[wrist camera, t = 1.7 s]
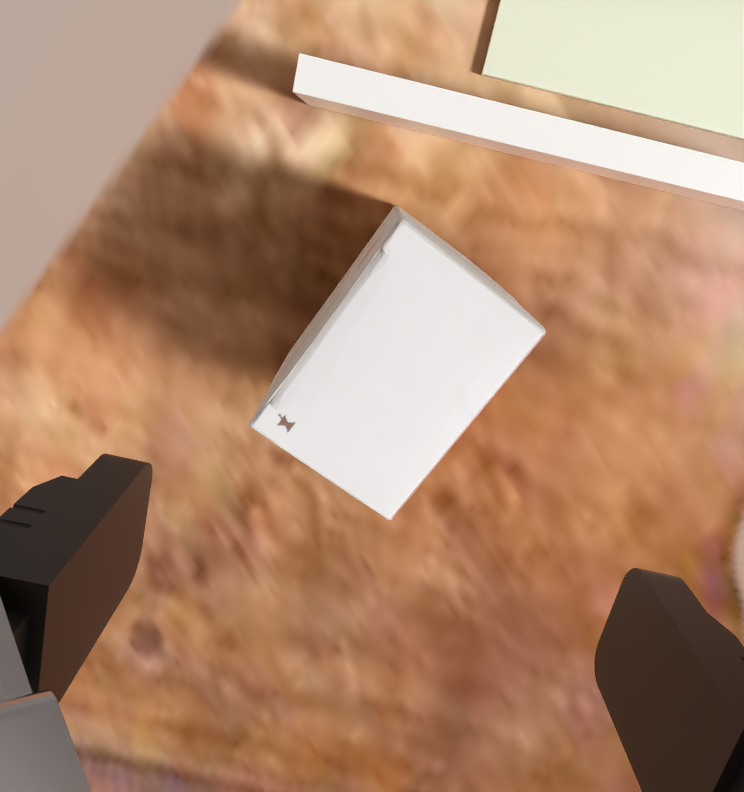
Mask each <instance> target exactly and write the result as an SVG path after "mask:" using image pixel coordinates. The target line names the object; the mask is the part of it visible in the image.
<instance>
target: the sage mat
mask: <svg viewBox="0 0 744 792" xmlns="http://www.w3.org/2000/svg"><path fill="white" fill-rule="evenodd" d="M481 75H483V76H487V77H491V78H495V79H499V80H503V81H507V82H511V83H515V84H519V85H523V86H527V87H531V88H535V89H539V90H543V91H547V92H551V93H555V94H559V95H563V96H567V97H571V98H575V99H580V100H584V101H588V102H592V103H596V104H600V105H604V106H608V107H612V108H616V109H620V110H624V111H628V112H632V113H636V114H640V115H644V116H648V117H652V118H656V119H660V120H664V121H668V122H672V123H676V124H680V125H684V126H688V127H692V128H696V129H700V130H704V131H708V132H713V133H717V134H721V135H725V136H729V137H733V138H737V139H741V140H744V0H500V2H499V6H498V10H497V14H496V18H495V22H494V26H493V30H492V34H491V38H490V42H489V46H488V50H487V54H486V58H485V62H484V66H483V70H482V74H481Z"/></svg>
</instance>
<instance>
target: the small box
mask: <svg viewBox="0 0 744 792" xmlns="http://www.w3.org/2000/svg"><path fill="white" fill-rule="evenodd" d="M545 335H546V332H545V329H544V327H543V326H542V325H541V324H539V323H538V322H537V321H536V320H535V319H534V318H533V317H532V316H531V315H530V314H529V313H528V312H527V311H526V310H525V309H524V308H523V307H522V306H521V305H520V304H519V303H518V302H517V301H516V300H515V299H514V298H513V297H512V296H511V295H510V294H508V293H507V292H506V291H505V290H504V289H503V288H502V287H501V286H499V285H498V284H497V283H496V282H495V281H494V280H493V279H491V278H490V277H489V276H488V275H487V274H486V273H484V272H483V271H482V270H481V269H480V268H478V267H477V266H476V265H475V264H473V263H472V262H471V261H470V260H468V259H467V258H466V257H465V256H463V255H462V254H461V253H459V252H458V251H457V250H456V249H454V248H453V247H452V246H450V245H449V244H448V243H446V242H445V241H444V240H443V239H441V238H440V237H439V236H437V235H436V234H435V233H433V232H432V231H431V230H429V229H428V228H427V227H425V226H424V225H423V224H421V223H420V222H419V221H417V220H416V219H415V218H413V217H412V216H411V215H409V214H408V213H407V212H405V211H404V210H402V209H401V208H400V207H398V206H394V207H393V208H392V210H391V211H390V213H389V214H388V215H387V217H386V218H385V220H384V221H383V222H382V224H381V225H380V227H379V228H378V229H377V231H376V232H375V234H374V235H373V236H372V238H371V239H370V240H369V242H368V243H367V245H366V246H365V247H364V249H363V250H362V252H361V253H360V254H359V256H358V257H357V259H356V260H355V261H354V263H353V264H352V266H351V267H350V268H349V270H348V271H347V273H346V274H345V275H344V277H343V278H342V280H341V281H340V282H339V284H338V285H337V286H336V288H335V289H334V291H333V292H332V293H331V295H330V296H329V297H328V299H327V300H326V302H325V303H324V304H323V306H322V307H321V308H320V310H319V311H318V312H317V314H316V315H315V317H314V318H313V319H312V321H311V322H310V324H309V325H308V326H307V328H306V329H305V331H304V332H303V333H302V335H301V336H300V338H299V339H298V340H297V342H296V343H295V344H294V346H293V347H292V349H291V350H290V352H289V353H288V355H287V357H286V358H285V360H284V362H283V364H282V365H281V367H280V369H279V371H278V372H277V374H276V376H275V378H274V379H273V381H272V383H271V385H270V387H269V389H268V391H267V393H266V395H265V396H264V398H263V400H262V402H261V404H260V405H259V407H258V409H257V411H256V413H255V415H254V416H253V418H252V419H251V421H250V423H249V425H250V427H251V428H253V429H254V430H256V431H257V432H259V433H260V434H262V435H263V436H265V437H266V438H268V439H269V440H271V441H272V442H274V443H275V444H277V445H278V446H279V447H281V448H282V449H284V450H285V451H287V452H288V453H290V454H291V455H293V456H294V457H296V458H297V459H299V460H300V461H302V462H303V463H305V464H306V465H308V466H309V467H310V468H312V469H313V470H315V471H316V472H318V473H319V474H321V475H322V476H324V477H325V478H327V479H328V480H330V481H331V482H333V483H334V484H336V485H337V486H339V487H340V488H342V489H343V490H344V491H346V492H347V493H349V494H350V495H352V496H353V497H355V498H356V499H358V500H359V501H361V502H362V503H364V504H365V505H367V506H368V507H370V508H371V509H373V510H374V511H376V512H378V513H379V514H381V515H382V516H383V517H385V518H386V519H388V520H391V519H393V518H394V516H395V515H396V514H397V512H398V511H399V510H400V509H401V508H402V506H403V505H404V504H405V503H406V502H407V501H408V499H409V498H410V497H411V496H412V495H413V493H414V492H415V491H416V490H417V488H418V487H419V486H420V485H421V484H422V482H423V481H424V480H425V479H426V477H427V476H428V475H429V474H430V473H431V471H432V470H433V469H434V468H435V467H436V465H437V464H438V463H439V462H440V461H441V459H442V458H443V457H444V456H445V455H446V453H447V452H448V451H449V450H450V448H451V447H452V446H453V445H454V444H455V442H456V441H457V440H458V439H459V438H460V436H461V435H462V434H463V433H464V432H465V430H466V429H467V428H468V427H469V425H470V424H471V423H472V422H473V421H474V420H475V418H476V417H477V416H478V415H479V413H480V412H481V411H482V410H483V409H484V407H485V406H486V405H487V404H488V403H489V401H490V400H491V399H492V398H493V396H494V395H495V394H496V393H497V392H498V390H499V389H500V388H501V387H502V386H503V384H504V383H505V382H506V381H507V380H508V379H509V377H510V376H511V375H512V374H513V372H514V371H515V370H516V369H517V368H518V366H519V365H520V364H521V363H522V362H523V360H524V359H525V358H526V357H527V356H528V354H529V353H530V352H531V351H532V350H533V348H534V347H535V346H536V345H537V344H538V342H539V341H540V340H541V339H542V338H543V337H544V336H545Z"/></svg>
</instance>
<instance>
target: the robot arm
mask: <svg viewBox="0 0 744 792" xmlns="http://www.w3.org/2000/svg"><path fill="white" fill-rule="evenodd" d="M151 482H152V465H151V464H150V463H147V462H142V461H137V460H133V459H128V458H123V457H119V456H114V455H109V454H102V455H101V456H100V457H99V458H98V459H97V460H96V461H95V462H94V463H93V464H92V465H91V466H90V467H89V468H88V469H87V470H86V471H85V472H84V473H83V474H82V475H81V476H80V477H79V478H78V479H75V478H70V477H65V476H60V477H57V478H55V479H52V480H50V481H47V482H45V483H42V484H40V485H37V486H35V487H32V488H31V489H30V490H29V491H28V492H27V493H26V494H25V495H23V496H22V497H21V498H20V499H19V500H18V501H17V502H16V503H15V504H14V506H13V508H9V509H8V510H7V511H6V512H5V513H4V514H2V515H1V516H0V792H91V791H90V788H89V785H88V783H87V780H86V777H85V774H84V772H83V769H82V766H81V764H80V761H79V758H78V755H77V753H76V750H75V747H74V744H73V742H72V739H71V736H70V734H69V731H68V728H67V725H66V723H65V720H64V717H63V714H62V712H61V709H60V706H59V704H58V703H59V702H60V700H61V699H62V697H63V695H64V694H65V692H66V690H67V689H68V687H69V685H70V684H71V682H72V680H73V679H74V677H75V676H76V674H77V672H78V671H79V669H80V667H81V666H82V664H83V662H84V661H85V659H86V657H87V656H88V654H89V652H90V651H91V649H92V648H93V646H94V644H95V643H96V641H97V639H98V638H99V636H100V634H101V633H102V631H103V629H104V628H105V626H106V625H107V623H108V621H109V620H110V618H111V616H112V615H113V613H114V611H115V610H116V608H117V606H118V605H119V603H120V602H121V600H122V598H123V597H124V595H125V593H126V592H127V590H128V588H129V586H130V584H131V582H132V580H133V578H134V575H135V572H136V569H137V566H138V563H139V559H140V555H141V550H142V544H143V537H144V530H145V523H146V516H147V509H148V502H149V495H150V488H151ZM595 677H596V682H597V685H598V687H599V690H600V692H601V694H602V697H603V699H604V702H605V704H606V706H607V709H608V711H609V714H610V716H611V718H612V721H613V723H614V725H615V728H616V730H617V733H618V735H619V737H620V740H621V742H622V745H623V747H624V749H625V752H626V754H627V756H628V759H629V761H630V764H631V766H632V768H633V771H634V773H635V776H636V778H637V780H638V783H639V785H640V787H641V790H642V792H744V647H743V645H742V644H741V643H740V641H739V640H738V639H737V637H736V636H735V635H734V634H733V633H731V632H730V631H729V630H728V629H726V628H725V627H724V626H723V625H722V624H720V623H719V622H718V621H717V620H716V619H714V618H713V617H712V616H711V615H710V614H708V613H707V612H706V610H705V609H704V608H703V606H702V605H701V604H700V602H699V601H698V600H697V598H696V597H695V595H694V594H693V593H692V591H691V590H690V589H689V587H688V586H687V585H686V583H685V582H684V581H683V580H682V579H681V578H680V577H676V576H671V575H667V574H662V573H657V572H653V571H648V570H643V569H638V568H633V569H631V570H630V571H629V572H628V573H627V574H626V575H625V577H624V579H623V581H622V584H621V586H620V589H619V591H618V594H617V596H616V599H615V602H614V604H613V607H612V609H611V612H610V614H609V617H608V619H607V622H606V625H605V627H604V630H603V632H602V635H601V637H600V640H599V643H598V645H597V649H596V654H595Z"/></svg>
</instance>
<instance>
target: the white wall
mask: <svg viewBox="0 0 744 792" xmlns="http://www.w3.org/2000/svg"><path fill="white" fill-rule="evenodd" d="M293 92H294V93H295V94H296V95H297V96H298V97H299V98H301V99H302V100H303V101H304V102H305V103H306V104H308V105H310V106H314V107H318V108H322V109H327V110H331V111H335V112H339V113H343V114H347V115H351V116H355V117H360V118H364V119H368V120H372V121H376V122H380V123H384V124H388V125H392V126H397V127H401V128H405V129H409V130H413V131H417V132H421V133H425V134H430V135H434V136H438V137H442V138H446V139H450V140H454V141H458V142H463V143H467V144H471V145H475V146H479V147H483V148H487V149H491V150H495V151H500V152H504V153H508V154H512V155H516V156H520V157H524V158H528V159H533V160H537V161H541V162H545V163H549V164H553V165H557V166H561V167H565V168H570V169H574V170H578V171H582V172H586V173H590V174H594V175H598V176H603V177H607V178H611V179H615V180H619V181H623V182H627V183H631V184H636V185H640V186H644V187H648V188H652V189H656V190H660V191H664V192H668V193H673V194H677V195H681V196H685V197H689V198H693V199H697V200H701V201H706V202H710V203H714V204H718V205H722V206H726V207H730V208H734V209H739V210H743V211H744V163H743V162H739V161H735V160H731V159H727V158H723V157H719V156H715V155H711V154H707V153H702V152H698V151H694V150H690V149H686V148H682V147H678V146H674V145H670V144H666V143H662V142H658V141H654V140H650V139H646V138H642V137H638V136H633V135H629V134H625V133H621V132H617V131H613V130H609V129H605V128H601V127H597V126H593V125H589V124H585V123H581V122H577V121H573V120H569V119H564V118H560V117H556V116H552V115H548V114H544V113H540V112H536V111H532V110H528V109H524V108H520V107H516V106H512V105H508V104H504V103H500V102H495V101H491V100H487V99H483V98H479V97H475V96H471V95H467V94H463V93H459V92H455V91H451V90H447V89H443V88H439V87H435V86H431V85H426V84H422V83H418V82H414V81H410V80H406V79H402V78H398V77H394V76H390V75H386V74H382V73H378V72H374V71H370V70H366V69H362V68H357V67H353V66H349V65H345V64H341V63H337V62H333V61H329V60H325V59H321V58H317V57H313V56H309V55H305V54H301V53H299V58H298V64H297V69H296V75H295V81H294V86H293Z"/></svg>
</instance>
